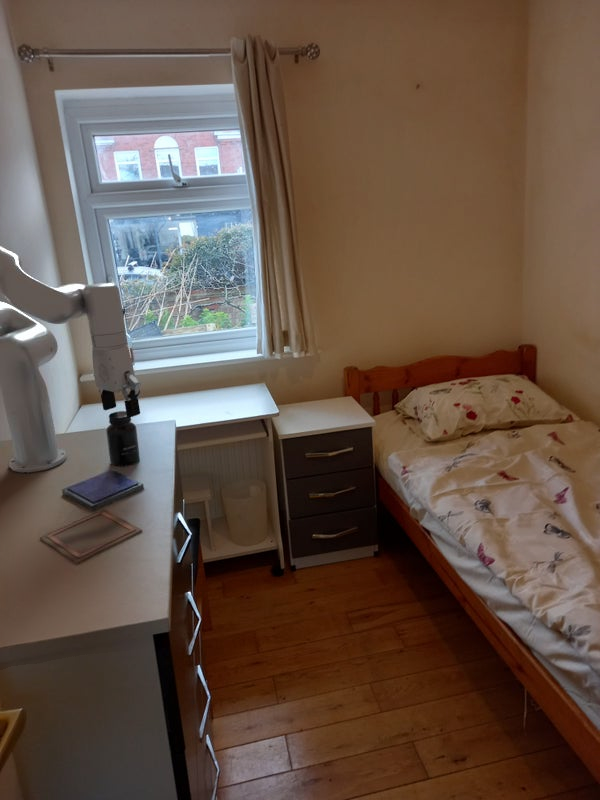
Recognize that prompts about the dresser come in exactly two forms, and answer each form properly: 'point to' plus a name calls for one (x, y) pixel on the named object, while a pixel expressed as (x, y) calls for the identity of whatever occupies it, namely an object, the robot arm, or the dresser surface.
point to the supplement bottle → (122, 440)
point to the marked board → (90, 535)
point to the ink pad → (102, 490)
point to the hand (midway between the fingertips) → (121, 412)
